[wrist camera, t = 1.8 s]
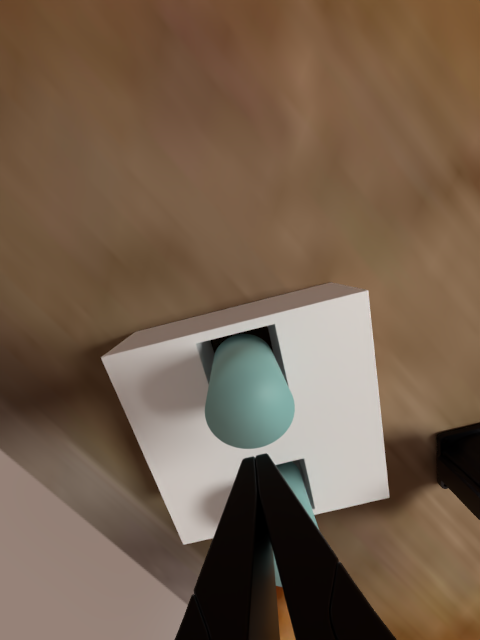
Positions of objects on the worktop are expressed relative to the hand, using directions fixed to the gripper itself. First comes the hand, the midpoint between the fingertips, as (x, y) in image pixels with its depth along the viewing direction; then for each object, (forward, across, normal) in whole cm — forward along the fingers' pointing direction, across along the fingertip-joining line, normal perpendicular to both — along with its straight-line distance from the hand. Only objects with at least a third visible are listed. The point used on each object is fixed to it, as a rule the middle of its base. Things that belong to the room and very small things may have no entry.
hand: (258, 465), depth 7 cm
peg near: (+8, 0, 0) cm, 8 cm away
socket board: (+12, 0, +5) cm, 13 cm away
